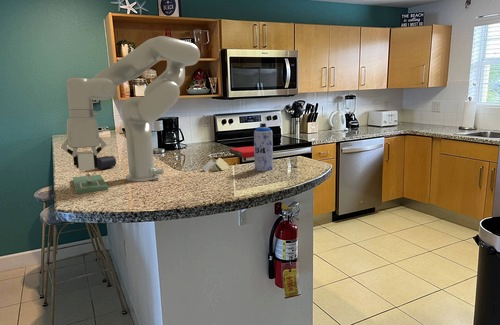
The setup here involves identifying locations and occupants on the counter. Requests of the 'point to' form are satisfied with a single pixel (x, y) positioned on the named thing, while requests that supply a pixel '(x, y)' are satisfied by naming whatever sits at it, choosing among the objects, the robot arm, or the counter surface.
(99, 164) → the speaker
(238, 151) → the red device housing
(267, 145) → the aerosol can
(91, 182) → the grey peg pair
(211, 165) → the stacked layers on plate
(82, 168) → the plug cap
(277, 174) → the counter surface
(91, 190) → the header board
